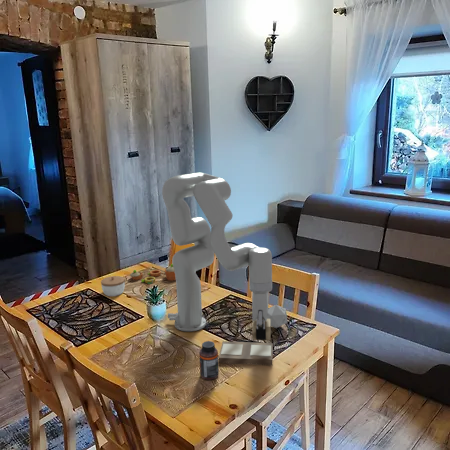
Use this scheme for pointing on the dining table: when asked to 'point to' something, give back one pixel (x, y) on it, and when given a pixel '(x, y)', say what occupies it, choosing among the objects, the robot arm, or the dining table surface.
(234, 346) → the base board
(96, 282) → the dining table surface
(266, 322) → the oak block
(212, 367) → the supplement bottle
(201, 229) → the robot arm
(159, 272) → the cupcakes and donuts
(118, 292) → the lidded jar
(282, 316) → the die
